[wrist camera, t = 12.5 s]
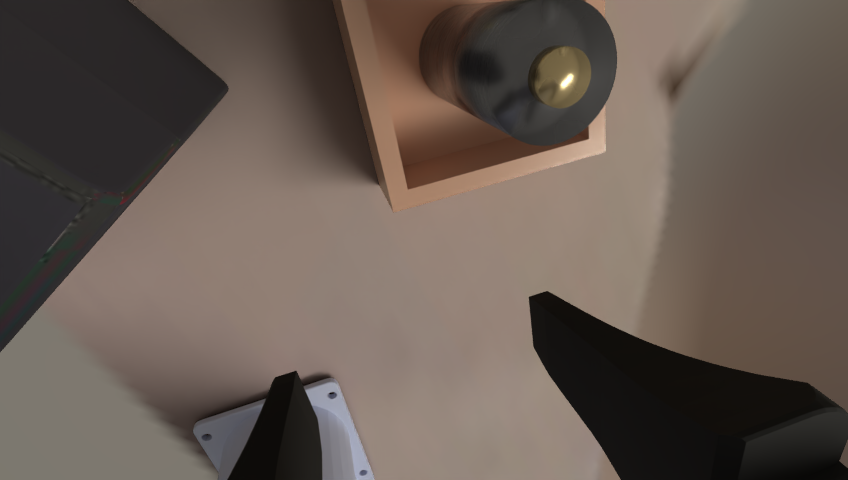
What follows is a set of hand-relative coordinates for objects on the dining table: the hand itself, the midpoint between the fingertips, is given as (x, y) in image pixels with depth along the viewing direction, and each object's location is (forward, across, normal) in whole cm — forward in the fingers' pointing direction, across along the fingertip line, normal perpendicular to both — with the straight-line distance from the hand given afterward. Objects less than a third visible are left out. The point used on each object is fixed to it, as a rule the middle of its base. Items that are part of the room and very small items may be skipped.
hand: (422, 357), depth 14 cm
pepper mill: (+10, -6, -6) cm, 13 cm away
